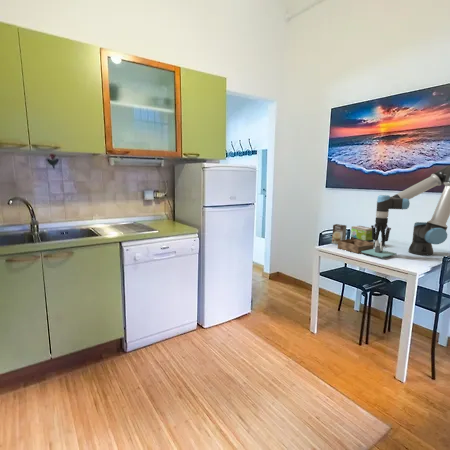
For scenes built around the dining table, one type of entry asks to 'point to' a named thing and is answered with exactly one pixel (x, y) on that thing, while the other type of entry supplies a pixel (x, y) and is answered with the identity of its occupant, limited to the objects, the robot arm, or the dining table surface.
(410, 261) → the dining table surface
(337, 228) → the coffee box
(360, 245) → the walnut box
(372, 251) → the cover plate
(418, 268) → the dining table surface
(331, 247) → the dining table surface
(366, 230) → the tea box
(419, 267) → the dining table surface
